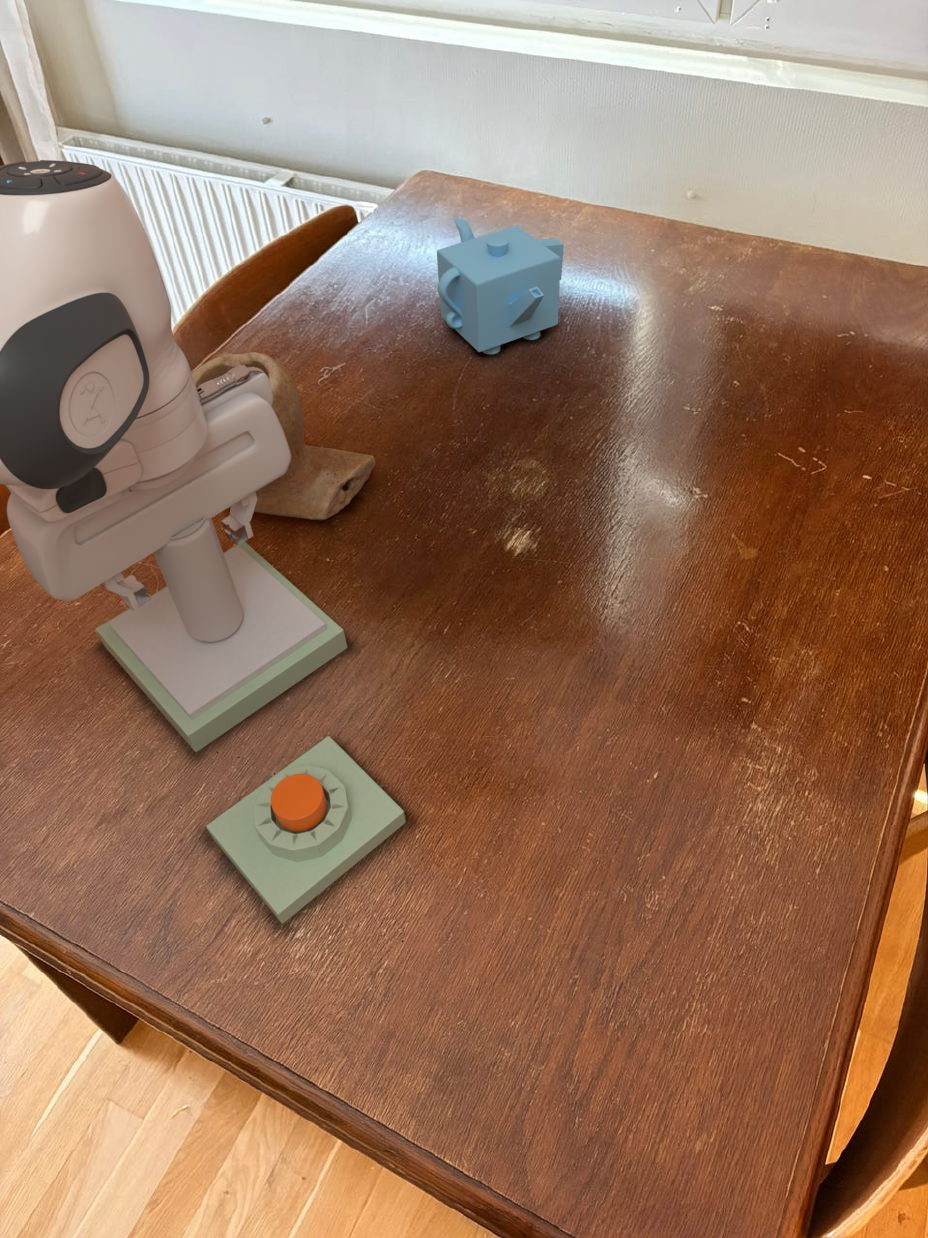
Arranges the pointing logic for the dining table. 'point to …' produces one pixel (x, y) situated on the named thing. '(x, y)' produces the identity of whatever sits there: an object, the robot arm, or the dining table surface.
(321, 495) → the tan stone pipe
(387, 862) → the dining table surface
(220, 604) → the beverage can
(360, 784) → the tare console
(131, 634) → the scale
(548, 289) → the teapot
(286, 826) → the button
